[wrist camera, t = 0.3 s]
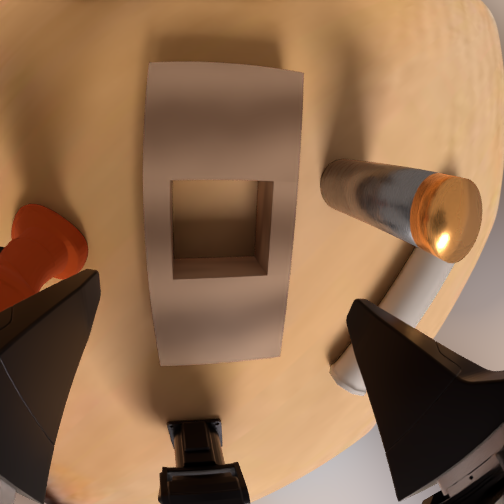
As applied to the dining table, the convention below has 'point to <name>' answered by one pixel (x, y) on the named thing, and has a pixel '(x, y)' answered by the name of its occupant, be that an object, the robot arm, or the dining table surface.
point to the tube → (398, 308)
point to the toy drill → (38, 253)
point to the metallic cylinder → (408, 204)
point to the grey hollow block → (221, 168)
